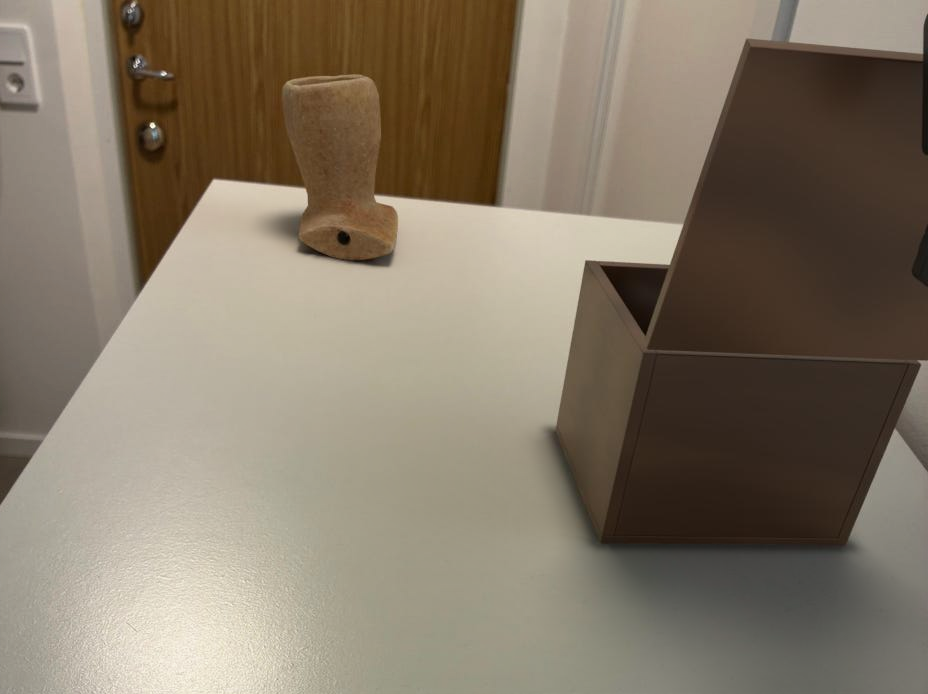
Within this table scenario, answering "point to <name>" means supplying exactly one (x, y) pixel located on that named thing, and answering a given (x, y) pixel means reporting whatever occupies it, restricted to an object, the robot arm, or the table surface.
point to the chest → (715, 428)
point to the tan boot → (339, 165)
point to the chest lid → (806, 212)
